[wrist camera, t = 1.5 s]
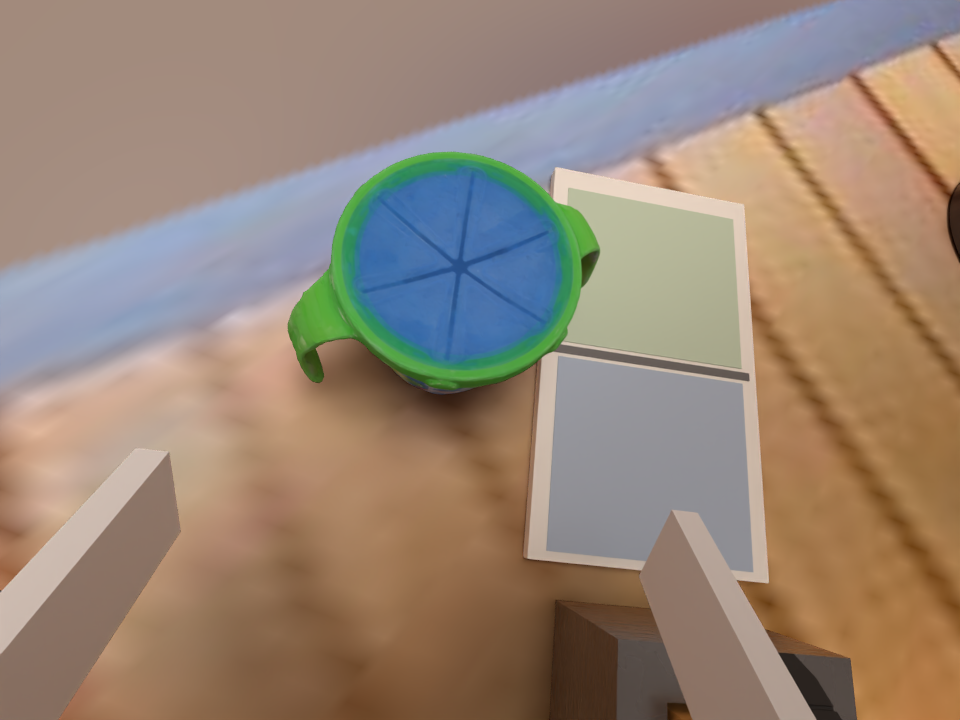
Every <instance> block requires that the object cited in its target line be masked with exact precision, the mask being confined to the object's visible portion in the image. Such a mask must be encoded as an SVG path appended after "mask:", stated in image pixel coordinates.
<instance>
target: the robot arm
mask: <svg viewBox="0 0 960 720" xmlns="http://www.w3.org/2000/svg"><path fill="white" fill-rule="evenodd" d="M950 225H951V231H952V235H953V239H954V242H955V245H956V247H957V250H958V252H959V255H960V184H959V185H958V187H957V188H956V190H955V192H954V194H953V197H952V201H951V206H950ZM180 532H181V530H180V524H179V517H178V510H177V503H176V496H175V489H174V482H173V475H172V468H171V461H170V454H169V452H168V451H159V450H150V449H142V448H135V449H134V450H133V451H132V452H131V454H130V455H129V456H128V457H127V458H126V459H125V460H124V461H123V462H122V463H121V464H120V465H119V466H118V467H117V469H116V470H115V471H114V472H113V473H112V474H111V475H110V476H109V477H108V478H107V479H106V480H105V481H104V482H103V483H102V485H101V486H100V487H99V488H98V489H97V490H96V491H95V492H94V493H93V494H92V495H91V496H90V497H89V498H88V499H87V501H86V502H85V503H84V504H83V505H82V506H81V507H80V508H79V509H78V510H77V511H76V512H75V513H74V514H73V516H72V517H71V518H70V519H69V520H68V521H67V522H66V523H65V524H64V525H63V526H62V527H61V528H60V529H59V530H58V532H57V533H56V534H55V535H54V536H53V537H52V538H51V539H50V540H49V541H48V542H47V543H46V544H45V545H44V546H43V548H42V549H41V550H40V551H39V552H38V553H37V554H36V555H35V556H34V557H33V558H32V559H31V560H30V561H29V562H28V564H27V565H26V566H25V567H24V568H23V569H22V570H21V571H20V572H19V573H18V574H17V575H16V576H15V577H14V579H13V580H12V581H11V582H10V583H9V584H8V585H7V586H6V587H5V588H4V589H3V590H2V591H1V590H0V720H58V719H59V718H60V716H61V715H62V713H63V711H64V710H65V708H66V707H67V705H68V704H69V702H70V701H71V699H72V698H73V696H74V695H75V693H76V692H77V690H78V688H79V687H80V685H81V684H82V682H83V681H84V679H85V678H86V676H87V675H88V673H89V672H90V670H91V668H92V667H93V665H94V664H95V662H96V661H97V659H98V658H99V656H100V655H101V653H102V652H103V650H104V648H105V647H106V645H107V644H108V642H109V641H110V639H111V638H112V636H113V635H114V633H115V632H116V630H117V628H118V627H119V625H120V624H121V622H122V621H123V619H124V618H125V616H126V615H127V613H128V612H129V610H130V609H131V607H132V605H133V604H134V602H135V601H136V599H137V598H138V596H139V595H140V593H141V592H142V590H143V589H144V587H145V585H146V584H147V582H148V581H149V579H150V578H151V576H152V575H153V573H154V572H155V570H156V569H157V567H158V565H159V564H160V562H161V561H162V559H163V558H164V556H165V555H166V553H167V552H168V550H169V549H170V547H171V546H172V544H173V542H174V541H175V539H176V538H177V536H178V535H179V533H180ZM639 578H640V581H641V584H642V586H643V589H644V592H645V594H646V597H647V600H648V602H649V605H650V608H651V610H652V613H653V616H654V618H655V621H656V624H657V626H658V629H659V632H660V634H661V637H662V640H663V643H664V645H665V648H666V651H667V653H668V656H669V659H670V661H671V664H672V667H673V669H674V672H675V675H676V677H677V680H678V683H679V685H680V688H681V691H682V693H683V696H684V699H685V701H686V704H687V707H688V709H689V712H690V715H691V717H692V720H842V719H841V717H840V716H839V714H838V712H836V711H834V709H833V704H832V703H831V701H830V699H829V698H828V696H827V695H826V693H825V691H824V690H823V688H822V686H821V685H820V683H819V682H818V680H817V678H816V677H815V676H814V675H813V674H812V673H811V672H810V671H809V670H808V669H807V668H806V667H805V665H804V664H803V663H802V662H801V661H800V660H799V659H798V658H797V657H796V656H795V655H794V654H792V653H780V652H777V650H776V648H775V647H774V645H773V643H772V641H771V640H770V638H769V636H768V634H767V633H766V631H765V629H764V627H763V626H762V624H761V622H760V620H759V619H758V617H757V615H756V613H755V612H754V610H753V608H752V606H751V605H750V603H749V601H748V600H747V598H746V596H745V594H744V593H743V591H742V589H741V587H740V586H739V584H738V582H737V580H736V579H735V577H734V575H733V573H732V572H731V570H730V568H729V566H728V565H727V563H726V561H725V559H724V558H723V556H722V554H721V552H720V551H719V549H718V547H717V546H716V544H715V542H714V540H713V539H712V537H711V535H710V533H709V532H708V530H707V528H706V526H705V525H704V523H703V521H702V519H701V518H700V516H699V514H698V513H696V512H688V511H679V510H671V512H670V514H669V516H668V518H667V520H666V522H665V524H664V526H663V528H662V530H661V532H660V534H659V536H658V538H657V540H656V542H655V544H654V546H653V548H652V550H651V553H650V555H649V557H648V559H647V561H646V563H645V565H644V567H643V569H642V571H641V573H640V575H639Z"/></svg>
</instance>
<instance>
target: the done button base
mask: <svg viewBox="0 0 960 720" xmlns="http://www.w3.org/2000/svg"><path fill="white" fill-rule="evenodd" d="M765 631H766V633H767V634H768V636H769V638H770V640H771V641H772V643H773V645H774V647H775V648H776V650H777V652H780V653H792V654H794V655H795V656H796V657H797V658H798V659H799V660H800V661H801V662H802V663H803V664H804V665H805V667H806V668H807V669H808V670H809V671H810V672H811V673H812V674H813V675H814V676H815V677H816V678H817V680H818V682H819V683H820V685H821V686H822V688H823V690H824V691H825V693H826V695H827V696H828V698H829V699H830V701H831V703H832V704H833V709H834V711H836V712H838V714H839V716H840V717H841V719H842V720H857V716H856V707H855V697H854V688H853V679H852V670H851V660H850V658H847V657H844V656H842V655H839V654H836V653H833V652H830V651H827V650H824V649H821V648H818V647H816V646H813V645H810V644H807V643H804V642H801V641H798V640H795V639H792V638H790V637H787V636H784V635H781V634H778V633H775V632H772V631H769V630H766V629H765ZM667 702H668V703H682V704H686V701H685V699H684V696H683V693H682V691H681V688H680V685H679V683H678V680H677V677H676V675H675V672H674V669H673V667H672V664H671V661H670V659H669V656H668V653H667V651H666V648H665V645H664V643H663V640H662V637H661V634H660V632H659V629H658V626H657V624H656V621H655V618H654V616H653V613H652V610H651V609H649V608H638V607H627V606H616V605H605V604H594V603H583V602H573V601H562V600H556V608H555V627H554V645H553V664H552V682H551V701H550V719H549V720H667Z"/></svg>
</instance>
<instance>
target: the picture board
mask: <svg viewBox="0 0 960 720" xmlns="http://www.w3.org/2000/svg"><path fill="white" fill-rule="evenodd" d="M550 196H551V197H552V199H553V200H554V201H555V202H556V203H560V204H564V205H567V206H571V207H573V208H574V209H576V210H578V211H579V212H580V213H581V214H582V215H583V216H584V218H585V219H586V221H587V222H588V224H589V226H590V227H591V229H592V231H593V233H594V235H595V237H596V240H597V242H598V244H599V246H600V255H599V258H598V261H597V263H596V266H595V268H594V270H593V272H592V274H591V276H590V278H589V280H588V282H587V283H586V284H585V286H583V287H582V288H581V292H580V298H579V301H578V304H577V308H576V310H575V313H574V315H573V318H572V320H571V321H570V323H569V325H568V326H567V329H568V334H567V336H566V338H565V339H564V340H563V341H562V343H561V344H560V345H559V347H558V348H557V349H556V350H555V351H553V352H551V353H548V354H546V355H545V356H543V357H542V358H541V359H540V360H539V361H538V362H537V375H536V388H535V402H534V415H533V429H532V442H531V456H530V469H529V483H528V496H527V510H526V523H525V536H524V550H523V557H524V558H527V559H534V560H544V561H554V562H564V563H574V564H584V565H593V566H603V567H613V568H623V569H633V570H642V569H643V567H644V565H645V563H646V561H647V559H648V557H649V555H650V553H651V550H652V548H653V546H654V544H655V542H656V540H657V538H658V536H659V534H660V532H661V530H662V528H663V526H664V524H665V522H666V520H667V518H668V516H669V514H670V512H671V510H679V511H688V512H696V513H698V514H699V516H700V518H701V519H702V521H703V523H704V525H705V526H706V528H707V530H708V532H709V533H710V535H711V537H712V539H713V540H714V542H715V544H716V546H717V547H718V549H719V551H720V552H721V554H722V556H723V558H724V559H725V561H726V563H727V565H728V566H729V568H730V570H731V572H732V573H733V575H734V577H735V579H736V580H741V581H751V582H761V583H769V575H768V560H767V544H766V529H765V514H764V499H763V484H762V469H761V454H760V438H759V423H758V408H757V393H756V378H755V363H754V347H753V332H752V317H751V302H750V287H749V272H748V256H747V241H746V226H745V211H744V204H739V203H734V202H729V201H724V200H719V199H714V198H709V197H704V196H699V195H694V194H689V193H684V192H678V191H673V190H668V189H663V188H658V187H653V186H648V185H643V184H638V183H633V182H628V181H623V180H618V179H613V178H608V177H602V176H597V175H592V174H587V173H582V172H577V171H572V170H567V169H562V168H557V167H555V169H554V172H553V174H552V176H551V186H550Z"/></svg>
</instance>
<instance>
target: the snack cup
mask: <svg viewBox="0 0 960 720" xmlns="http://www.w3.org/2000/svg"><path fill="white" fill-rule="evenodd" d="M599 255H600V246H599V244H598V242H597V240H596V237H595V235H594V233H593V231H592V229H591V227H590V226H589V224H588V222H587V221H586V219H585V218H584V216H583V215H582V214H581V213H580V212H579V211H578V210H576V209H574V208H573V207H571V206H567V205H564V204H560V203H556V202H555V201H554V200H553V199H552V197H551V196H550V195H549V194H548V193H547V192H546V191H545V190H544V189H543V188H542V187H541V186H539V185H538V184H537V183H536V182H535V181H533V180H532V179H531V178H529V177H528V176H526V175H525V174H524V173H522V172H520V171H518V170H516V169H514V168H512V167H510V166H509V165H507V164H504V163H501V162H499V161H496V160H494V159H491V158H487V157H484V156H480V155H476V154H468V153H459V152H437V153H428V154H423V155H418V156H415V157H411V158H408V159H405V160H403V161H400V162H397V163H395V164H393V165H391V166H389V167H387V168H386V169H384V170H382V171H381V172H379V173H378V174H376V175H375V176H373V177H372V178H371V179H370V180H368V181H367V182H366V183H365V184H363V185H362V186H361V187H360V188H359V189H358V190H357V191H356V192H355V194H354V196H353V197H352V198H351V200H350V201H349V203H348V204H347V206H346V207H345V209H344V211H343V214H342V215H341V217H340V219H339V222H338V224H337V227H336V231H335V235H334V239H333V244H332V255H331V264H330V266H329V269H328V270H327V271H326V272H325V273H324V274H323V276H322V277H321V278H320V279H319V280H318V281H317V282H315V283H314V284H313V285H312V286H311V287H310V288H309V289H308V290H307V291H305V292H303V295H302V298H301V299H300V301H299V302H298V303H297V304H296V306H295V307H294V309H293V311H292V313H291V316H290V319H289V322H288V333H289V336H290V339H291V341H292V343H293V347H294V349H295V351H296V355H297V359H298V361H299V363H300V366H301V368H302V369H303V371H304V373H305V374H306V375H307V377H308V378H309V379H310V380H311V381H313V382H316V383H320V382H322V380H323V378H324V373H323V369H322V365H321V362H320V359H319V356H318V353H317V351H316V348H317V347H318V346H319V345H321V344H323V343H325V342H330V341H334V340H339V339H348V338H352V339H356V340H357V341H359V342H361V343H362V344H363V345H365V346H366V347H367V349H368V350H369V351H370V352H371V353H372V354H374V355H375V356H376V357H377V358H379V359H380V360H381V361H382V362H384V363H385V364H387V365H388V366H390V367H391V368H392V369H393V371H394V372H395V373H396V374H397V375H399V376H400V377H401V378H402V379H403V380H405V381H406V382H408V383H409V384H411V385H413V386H415V387H417V388H420V389H422V390H425V391H428V392H430V393H433V394H441V395H443V394H453V393H459V392H462V391H468V390H470V389H473V388H476V387H480V386H485V385H490V384H496V383H499V382H502V381H505V380H507V379H509V378H511V377H514V376H516V375H518V374H520V373H522V372H523V371H525V370H527V369H528V368H530V367H531V366H533V365H534V364H535V363H536V362H538V361H539V360H540V359H541V358H542V357H543V356H545V355H546V354H548V353H551V352H553V351H555V350H556V349H557V348H558V347H559V345H560V344H561V343H562V341H563V340H564V339H565V338H566V336H567V334H568V329H567V326H568V325H569V323H570V321H571V320H572V318H573V315H574V313H575V310H576V308H577V304H578V301H579V298H580V292H581V288H582V287H583V286H585V284H586V283H587V282H588V280H589V278H590V276H591V274H592V272H593V270H594V268H595V266H596V263H597V261H598V258H599Z"/></svg>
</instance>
